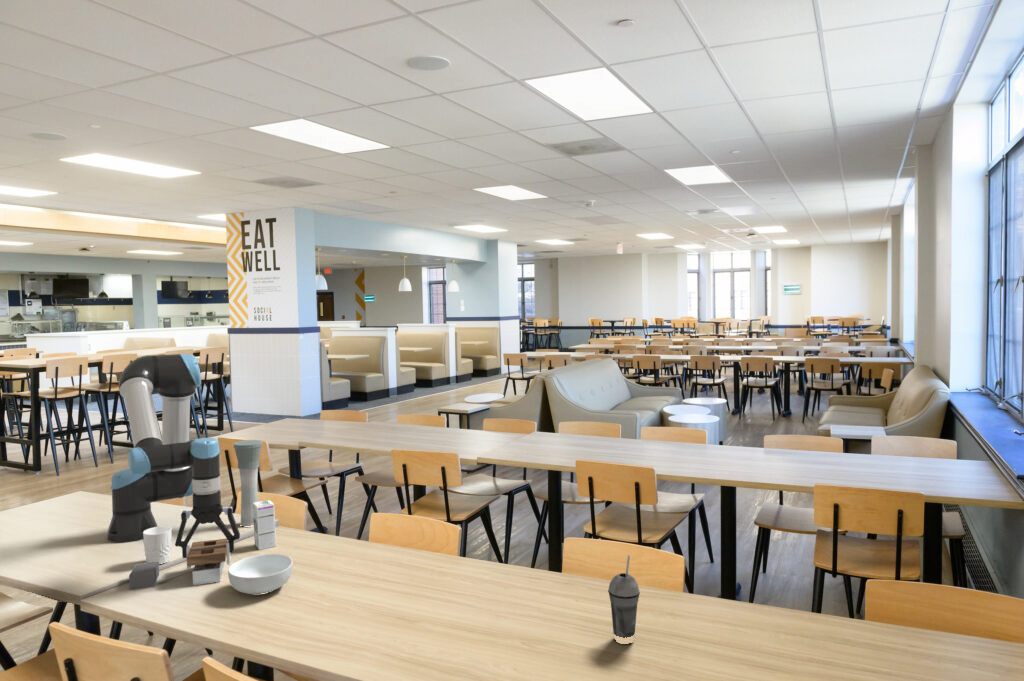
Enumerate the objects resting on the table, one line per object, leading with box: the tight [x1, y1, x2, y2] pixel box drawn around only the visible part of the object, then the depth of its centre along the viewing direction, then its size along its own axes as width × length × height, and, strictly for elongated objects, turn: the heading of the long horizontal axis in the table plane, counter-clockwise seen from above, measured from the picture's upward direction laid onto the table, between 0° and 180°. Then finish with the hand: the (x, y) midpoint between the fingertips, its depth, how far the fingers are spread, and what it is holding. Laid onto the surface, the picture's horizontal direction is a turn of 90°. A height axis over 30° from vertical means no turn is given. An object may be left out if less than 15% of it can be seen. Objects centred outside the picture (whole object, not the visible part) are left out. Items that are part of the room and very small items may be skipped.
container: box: [233, 439, 263, 526], centre depth 241 cm, size 10×10×30 cm
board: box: [186, 538, 228, 567], centre depth 196 cm, size 13×10×2 cm
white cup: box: [143, 525, 173, 564], centre depth 206 cm, size 8×8×10 cm
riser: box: [128, 562, 160, 591], centre depth 191 cm, size 9×6×4 cm, turn 19°
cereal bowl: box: [227, 553, 294, 595], centre depth 185 cm, size 17×17×7 cm
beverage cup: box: [607, 554, 641, 638], centre depth 154 cm, size 7×7×20 cm
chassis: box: [192, 562, 225, 586], centre depth 196 cm, size 15×7×7 cm, turn 19°
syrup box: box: [253, 499, 277, 551], centre depth 219 cm, size 6×6×14 cm
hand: (209, 565), depth 196 cm, fingers closed on board, 10 cm apart
